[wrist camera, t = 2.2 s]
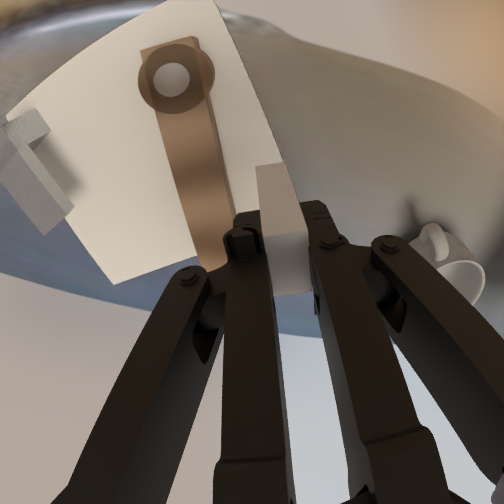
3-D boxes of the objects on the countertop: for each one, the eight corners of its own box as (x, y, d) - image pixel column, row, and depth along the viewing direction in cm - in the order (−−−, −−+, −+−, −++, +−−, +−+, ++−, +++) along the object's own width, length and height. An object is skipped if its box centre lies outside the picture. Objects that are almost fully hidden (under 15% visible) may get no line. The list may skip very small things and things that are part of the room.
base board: (207, -13, 19) (205, -17, 18) (301, 211, 32) (303, 218, 31) (13, 112, 24) (5, 115, 23) (117, 276, 37) (113, 284, 36)
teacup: (450, 276, 38) (475, 316, 32) (383, 296, 40) (402, 342, 34) (459, 188, 31) (498, 224, 24) (379, 207, 32) (408, 249, 26)
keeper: (44, 105, 24) (0, 125, 18) (99, 180, 30) (67, 215, 24) (23, 129, 25) (-19, 153, 19) (76, 199, 31) (44, 235, 25)
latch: (142, 53, 21) (126, 54, 18) (207, 35, 21) (201, 32, 18) (198, 256, 33) (194, 279, 30) (251, 248, 33) (252, 271, 30)
